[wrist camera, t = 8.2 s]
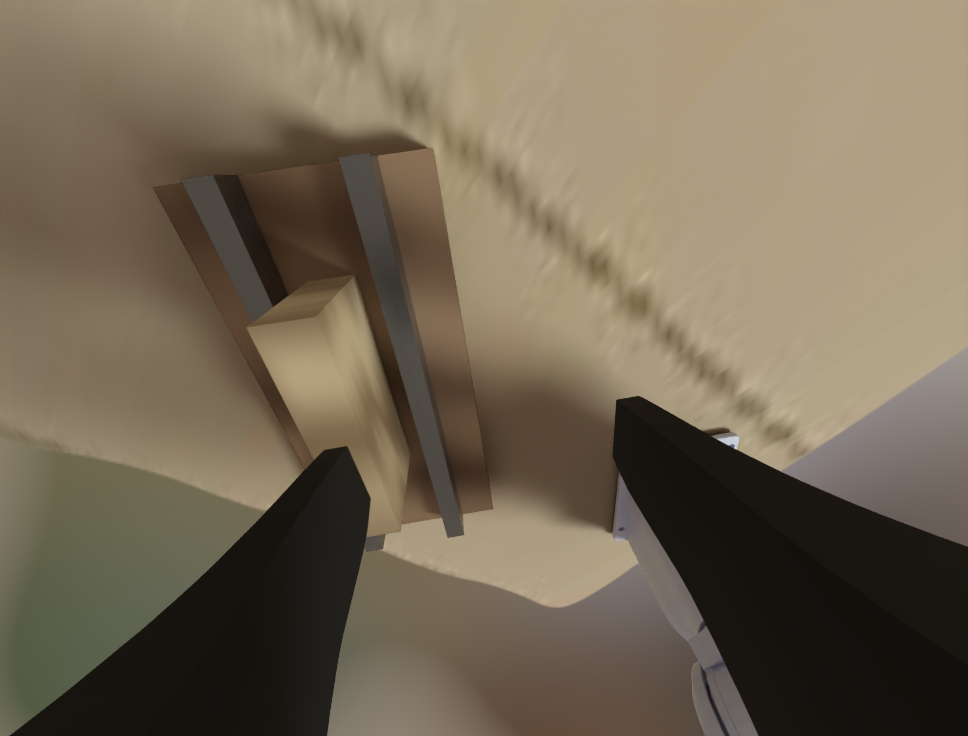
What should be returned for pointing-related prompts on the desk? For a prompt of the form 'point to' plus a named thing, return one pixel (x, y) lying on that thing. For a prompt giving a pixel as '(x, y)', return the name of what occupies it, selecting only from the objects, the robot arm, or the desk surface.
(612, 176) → the desk surface
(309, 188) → the track board
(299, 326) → the wooden block
